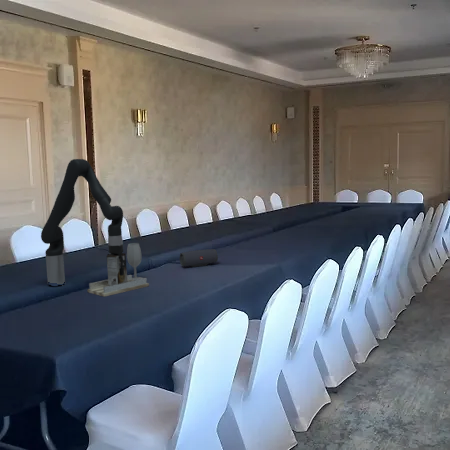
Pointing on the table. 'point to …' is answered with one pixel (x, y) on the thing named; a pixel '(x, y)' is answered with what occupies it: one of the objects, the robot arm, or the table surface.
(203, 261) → the bluetooth speaker
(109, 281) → the coffee box
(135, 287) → the track base
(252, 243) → the table surface
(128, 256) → the wineglass
